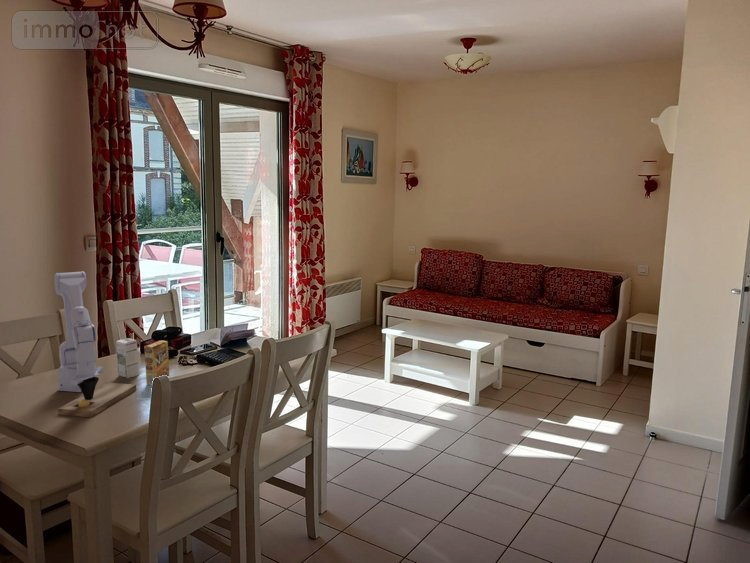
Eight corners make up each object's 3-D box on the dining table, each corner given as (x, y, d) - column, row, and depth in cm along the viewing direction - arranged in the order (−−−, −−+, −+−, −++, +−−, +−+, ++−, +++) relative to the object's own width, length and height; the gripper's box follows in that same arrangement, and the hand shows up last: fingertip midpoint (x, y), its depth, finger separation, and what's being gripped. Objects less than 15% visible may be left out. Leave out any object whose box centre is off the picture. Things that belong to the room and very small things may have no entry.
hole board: (58, 414, 194) (57, 408, 194) (106, 387, 220) (106, 382, 219) (91, 417, 192) (90, 411, 192) (136, 389, 218) (136, 384, 217)
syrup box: (139, 374, 234) (137, 339, 232) (126, 378, 229) (124, 343, 227) (130, 372, 237) (128, 337, 235) (117, 376, 232) (115, 340, 230)
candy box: (155, 386, 222) (153, 346, 219) (145, 384, 223) (143, 345, 221) (170, 378, 230) (168, 340, 228) (161, 377, 232) (159, 339, 229)
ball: (80, 401, 200) (83, 411, 200) (74, 401, 197) (77, 411, 196) (90, 397, 200) (93, 407, 200) (84, 397, 197) (87, 407, 196)
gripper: (82, 368, 190) (85, 408, 192) (110, 355, 204) (112, 392, 206) (63, 366, 191) (66, 406, 194) (91, 354, 205) (94, 391, 208)
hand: (88, 399), depth 200 cm, fingers closed
